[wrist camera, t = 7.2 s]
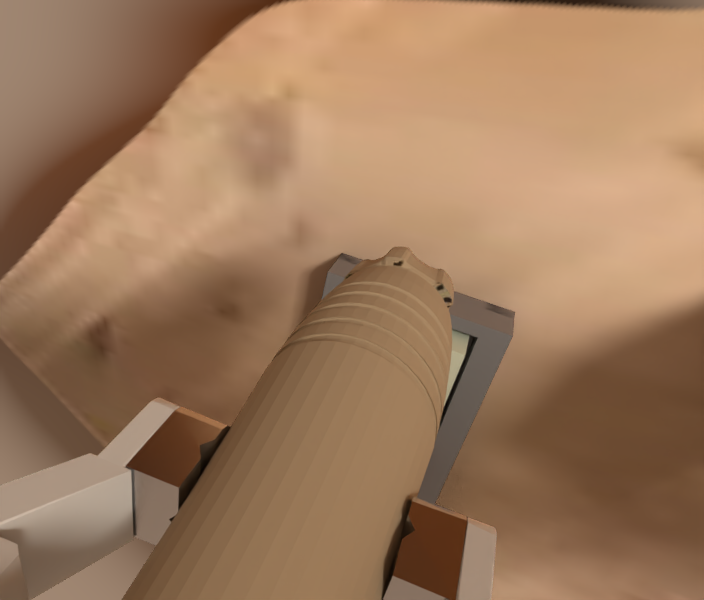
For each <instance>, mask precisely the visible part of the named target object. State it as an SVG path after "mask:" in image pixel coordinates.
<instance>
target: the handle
mask: <svg viewBox="0 0 704 600" xmlns="http://www.w3.org/2000/svg"><path fill="white" fill-rule="evenodd" d="M453 299H454V291H453V283H452V281H451V278H450V277H449V275H448V274H447V273H446V272H445V271H444V270H442V269H435V268H432V267H430V266H428V265H426V264H425V263H423V262H422V261H420V260H419V259H418V258H417V257H416V256H415V255H414V254H413V253H412V251H411V249H409V248H406V247H394V248H392V249H391V250H390V251H389V252H388V253H387V255H385V256H384V257H382V258H379V259H376V260H369V259H367V260H363V261H361V262H360V263H359V264H357V265H356V266H355V267H354V268H353V269H352V270H351V271H350V272H349V273H348V274H347V275H346V277H345V278H344V280H343V282H342V283H340V284H339V285H338V286H336V287H335V288H334V289H333V290H332V291H331V292H330V293H328V294H327V295H326V296H325V297H324V298H323V299H322V300H321V301H320V302H319V303H318V304H317V305H316V307H315V308H314V309H313V310H312V311H311V312H310V313H309V314H308V315H307V316H306V317H305V319H304V320H303V321H302V322H301V323H300V324H299V325H298V327H297V328H296V329H295V330H294V331H293V333H292V334H291V335H290V337H289V338H288V339H287V341H286V342H285V344H284V345H283V346H282V347H281V349H280V350H279V351H278V353H277V354H276V356H275V357H274V359H273V360H272V362H271V363H270V364H269V365H268V367H267V369H266V370H265V372H264V373H263V375H262V377H261V378H260V380H259V382H258V383H257V385H256V387H255V388H254V390H253V391H252V393H251V395H250V396H249V398H248V400H247V401H246V403H245V405H244V406H243V408H242V409H241V411H240V413H239V414H238V416H237V418H236V419H235V421H234V423H233V424H232V426H231V427H230V429H229V431H228V432H227V434H226V436H225V437H224V439H223V440H222V442H221V444H220V445H219V447H218V449H217V450H216V452H215V454H214V455H213V457H212V458H211V460H210V462H209V463H208V465H207V467H206V468H205V470H204V472H203V473H202V475H201V476H200V478H199V480H198V481H197V483H196V485H195V486H194V488H193V489H192V491H191V492H190V494H189V496H188V497H187V499H186V500H185V502H184V503H183V505H182V506H181V508H180V510H179V511H178V513H177V514H176V516H175V517H174V519H173V520H172V522H171V524H170V525H169V527H168V528H167V530H166V531H165V533H164V534H163V536H162V538H161V539H160V541H159V542H158V544H157V545H156V547H155V549H154V550H153V552H152V553H151V555H150V556H149V558H148V559H147V561H146V563H145V564H144V566H143V567H142V569H141V570H140V572H139V574H138V575H137V577H136V578H135V580H134V582H133V583H132V584H131V586H130V587H129V589H128V591H127V592H126V594H125V595H124V597H123V598H122V600H382V598H383V595H384V592H385V589H386V586H387V582H388V578H389V574H390V570H391V567H392V564H393V560H394V558H395V555H396V553H397V550H398V548H399V546H400V540H401V532H402V529H403V525H404V522H405V518H406V515H407V512H408V508H409V505H410V501H411V499H412V497H413V496H414V497H417V496H418V493H419V490H420V487H421V484H422V481H423V478H424V475H425V472H426V469H427V466H428V463H429V461H430V458H431V455H432V452H433V449H434V444H435V440H436V437H437V433H438V429H439V425H440V420H441V416H442V412H443V408H444V402H445V398H446V391H447V384H448V378H449V370H450V363H451V352H452V325H451V318H450V313H449V308H450V307H451V306H452V305H453Z"/></svg>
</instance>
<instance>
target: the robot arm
mask: <svg viewBox="0 0 704 600" xmlns="http://www.w3.org/2000/svg"><path fill="white" fill-rule="evenodd" d="M229 429H230V427H229V426H228V425H225V424H223V423H220V422H218V421H216V420H213V419H211V418H208V417H206V416H204V415H201V414H199V413H196V412H194V411H192V410H189V409H187V408H184V407H182V406H179V405H177V404H174V403H172V402H169V401H167V400H164V399H162V398H159V397H158V398H156V399H154V400H152V401H150V402H149V403H148V404H147V405H146V406H145V407H144V408H143V409H142V410H141V411H140V412H139V413H138V414H137V415H136V416H135V417H134V418H133V419H132V420H131V421H130V422H129V423H128V424H127V426H126V427H125V428H124V429H123V430H122V431H121V432H120V433H119V434H118V435H117V436H116V437H115V438H114V439H113V440H112V441H111V442H110V443H109V444H108V445H107V446H106V447H105V448H104V449H103V450H102V451H101V452H100V453H99V454H98V455H94V454H91V453H89V454H86V455H83V456H80V457H78V458H75V459H72V460H69V461H66V462H64V463H61V464H58V465H55V466H53V467H50V468H47V469H44V470H41V471H39V472H36V473H33V474H30V475H28V476H25V477H22V478H19V479H17V480H14V481H11V482H8V483H6V484H3V485H0V600H31V599H33V598H35V597H36V596H38V595H40V594H41V593H43V592H45V591H47V590H48V589H50V588H52V587H54V586H55V585H57V584H59V583H60V582H62V581H64V580H66V579H67V578H69V577H71V576H72V575H74V574H76V573H77V572H79V571H81V570H83V569H84V568H86V567H88V566H90V565H91V564H93V563H95V562H96V561H98V560H100V559H102V558H103V557H105V556H107V555H108V554H110V553H112V552H113V551H115V550H117V549H119V548H120V547H122V546H124V545H126V544H127V543H129V542H131V541H132V540H133V539H134V537H136V538H138V539H141V540H143V541H146V542H148V543H151V544H153V545H157V544H158V542H159V541H160V539H161V538H162V536H163V534H164V533H165V531H166V530H167V528H168V527H169V525H170V524H171V522H172V520H173V519H174V517H175V516H176V514H177V513H178V511H179V510H180V508H181V506H182V505H183V503H184V502H185V500H186V499H187V497H188V496H189V494H190V492H191V491H192V489H193V488H194V486H195V485H196V483H197V481H198V480H199V478H200V476H201V475H202V473H203V472H204V470H205V468H206V467H207V465H208V463H209V462H210V460H211V458H212V457H213V455H214V454H215V452H216V450H217V449H218V447H219V445H220V444H221V442H222V440H223V439H224V437H225V436H226V434H227V432H228V431H229ZM496 539H497V532H496V529H495V527H493V526H490V525H487V524H485V523H482V522H480V521H477V520H474V519H472V518H469V517H466V516H465V515H463V514H460V513H457V512H454V511H452V510H449V509H446V508H444V507H441V506H438V505H436V504H433V503H430V502H428V501H425V500H422V499H419V498H417V497H414V496H413V497H412V499H411V501H410V505H409V508H408V512H407V515H406V518H405V522H404V525H403V529H402V532H401V540H400V546H399V548H398V550H397V553H396V555H395V558H394V560H393V564H392V567H391V570H390V574H389V578H388V582H387V586H386V589H385V592H384V595H383V598H382V600H491V598H492V586H493V575H494V563H495V551H496Z"/></svg>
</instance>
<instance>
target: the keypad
mask: <svg viewBox="0 0 704 600" xmlns="http://www.w3.org/2000/svg"><path fill="white" fill-rule="evenodd" d="M361 261H363V260H361V259H358V258H355V257H352V256H349V255H346V254H343V253H342V254H341V255H340V257H339V258H338V259H337V261H336V262H335V263H334V264H333V266H332V267H331V268H330V270H329V271H328V273H327V278H326V282H325V287H324V291H323V296H322V299H323V298H324V297H325V296H326V295H327V294H328V293H330V292H331V291H332V290H333V289H334V288H335V287H336V286H338V285H339V284H340V283H342V282H343V280H344V278H345V277H346V275H347V274H348V273H349V272H350V271H351V270H352V269H353V268H354V267H355V266H356V265H357V264H359V263H360V262H361ZM449 313H450V318H451V325H452V329H455V330H458V331H460V332H463V333H466V334H469V335H470V336H469V340H468V345H467V350H466V355H465V357H464V360H463V362H462V365H461V367H460V369H459V372H458V374H457V377H456V379H455V381H454V384H453V386H452V389H451V391H450V393H449V396H448V398H447V401H446V403H445V405H444V408H443V412H442V416H441V420H440V425H439V429H438V433H437V437H436V440H435V444H434V449H433V452H432V455H431V458H430V461H429V463H428V466H427V469H426V472H425V475H424V478H423V481H422V484H421V487H420V490H419V493H418V496H417V498H419V499H422V500H425V501H428V502H430V503H433V504H435V502H436V500H437V498H438V496H439V494H440V492H441V489H442V487H443V485H444V483H445V481H446V479H447V477H448V474H449V472H450V470H451V468H452V466H453V464H454V461H455V459H456V457H457V455H458V453H459V451H460V449H461V446H462V444H463V442H464V440H465V438H466V436H467V433H468V431H469V429H470V427H471V425H472V423H473V421H474V418H475V416H476V414H477V412H478V410H479V408H480V405H481V403H482V401H483V399H484V397H485V395H486V393H487V390H488V388H489V386H490V384H491V382H492V380H493V377H494V375H495V373H496V371H497V369H498V367H499V365H500V362H501V360H502V358H503V356H504V354H505V352H506V349H507V347H508V345H509V343H510V341H511V339H512V337H513V327H514V315H515V312H513V311H510V310H507V309H504V308H501V307H498V306H496V305H493V304H490V303H487V302H484V301H481V300H478V299H475V298H472V297H469V296H466V295H463V294H460V293H457V292H454V299H453V305H452V306H451V307H450V308H449Z"/></svg>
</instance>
